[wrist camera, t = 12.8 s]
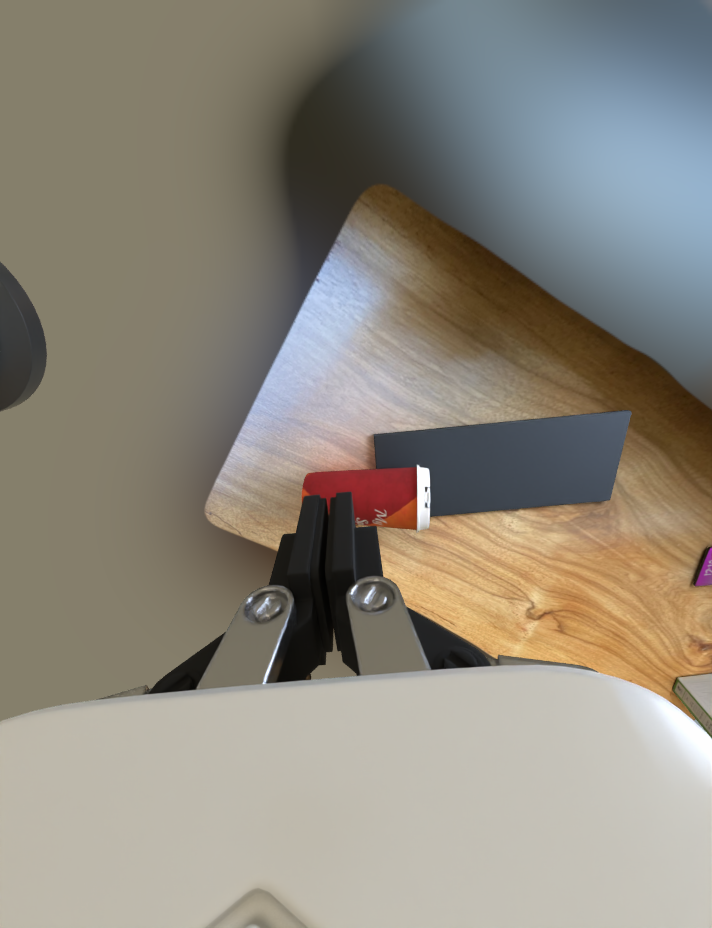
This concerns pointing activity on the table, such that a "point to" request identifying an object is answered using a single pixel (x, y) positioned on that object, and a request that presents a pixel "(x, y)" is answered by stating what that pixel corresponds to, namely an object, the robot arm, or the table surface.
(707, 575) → the smartphone
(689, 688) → the ink box
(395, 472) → the paper cup
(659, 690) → the table surface
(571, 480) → the mat
